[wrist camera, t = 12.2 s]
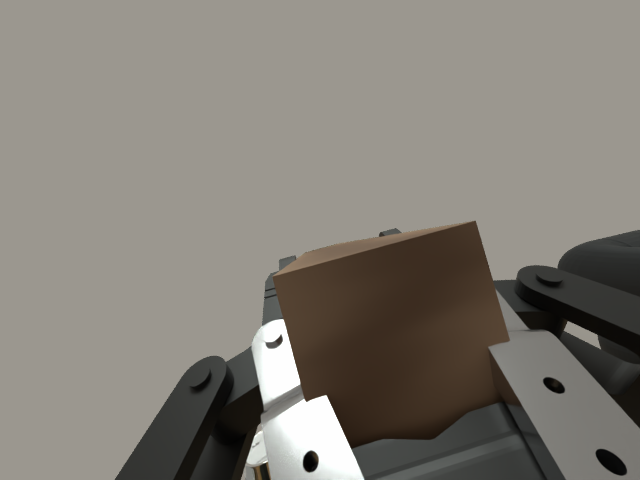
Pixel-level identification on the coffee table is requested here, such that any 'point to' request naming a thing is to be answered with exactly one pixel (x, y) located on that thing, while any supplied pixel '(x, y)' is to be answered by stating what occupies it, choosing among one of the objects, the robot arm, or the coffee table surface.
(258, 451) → the beer glass
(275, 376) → the robot arm
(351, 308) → the brown wooden bar
